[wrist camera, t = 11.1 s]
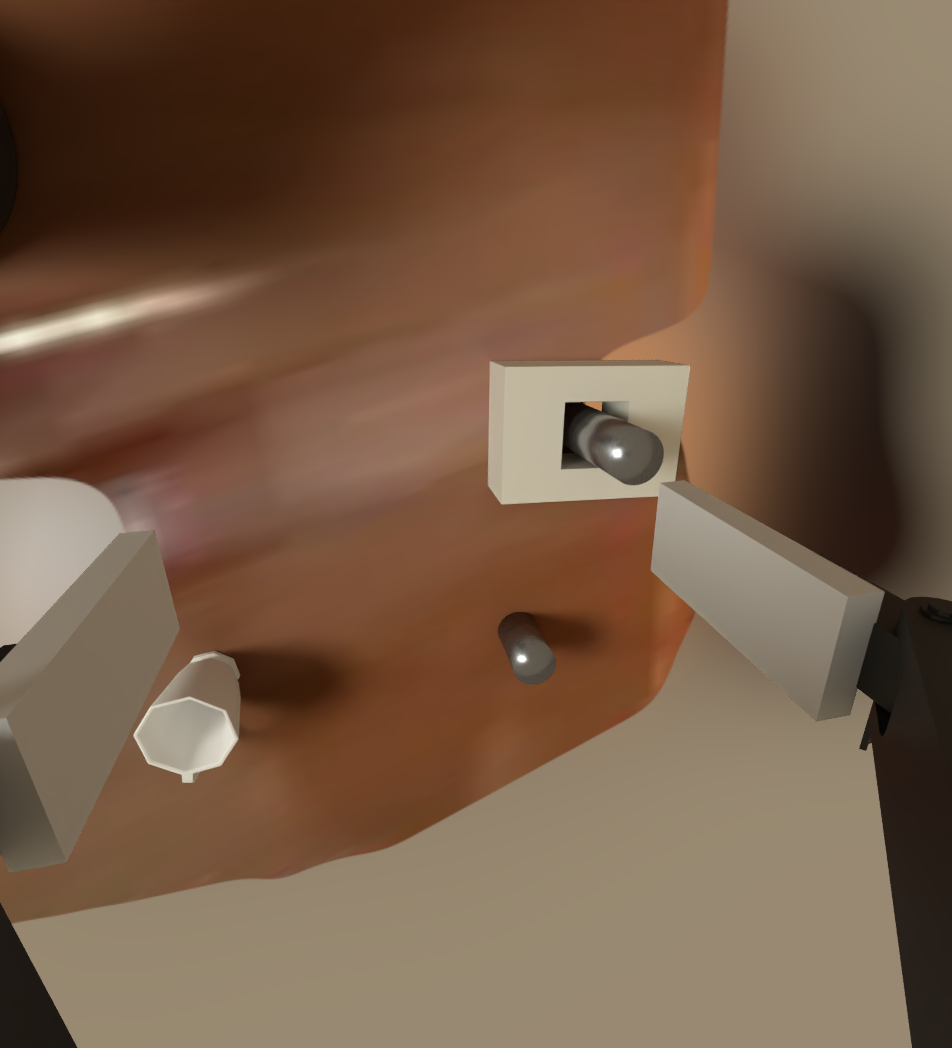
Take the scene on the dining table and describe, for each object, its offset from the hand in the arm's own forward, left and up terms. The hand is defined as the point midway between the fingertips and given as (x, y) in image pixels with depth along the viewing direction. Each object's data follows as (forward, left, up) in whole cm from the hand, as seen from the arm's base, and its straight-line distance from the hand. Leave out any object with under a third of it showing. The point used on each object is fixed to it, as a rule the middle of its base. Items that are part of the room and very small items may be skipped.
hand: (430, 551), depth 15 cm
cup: (+25, -16, -31) cm, 43 cm away
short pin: (+22, +11, -31) cm, 39 cm away
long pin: (+3, +15, -31) cm, 35 cm away
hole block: (+3, +15, -31) cm, 35 cm away
